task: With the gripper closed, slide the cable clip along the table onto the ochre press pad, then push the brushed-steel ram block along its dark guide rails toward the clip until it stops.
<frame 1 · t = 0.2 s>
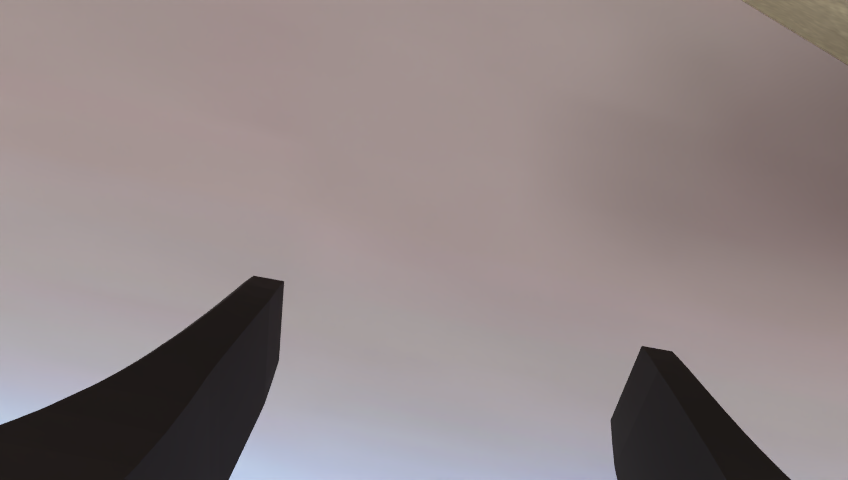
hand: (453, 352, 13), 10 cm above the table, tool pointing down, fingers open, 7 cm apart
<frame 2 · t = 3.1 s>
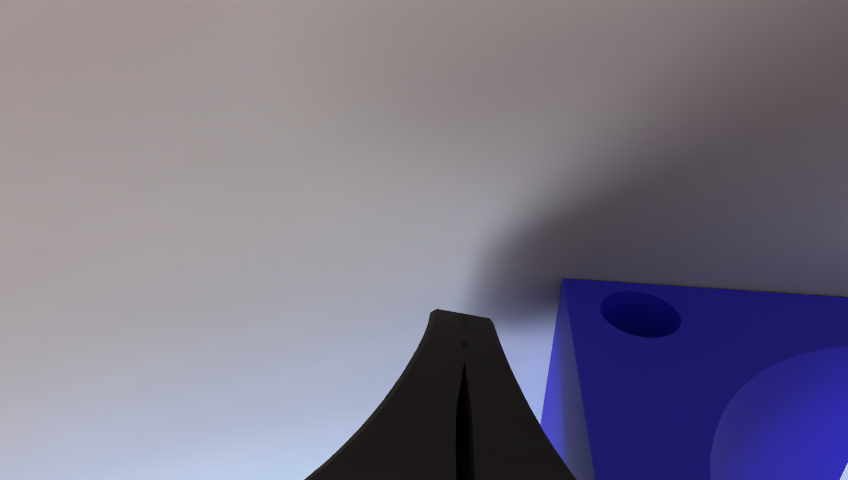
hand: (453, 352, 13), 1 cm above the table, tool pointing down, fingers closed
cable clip: (824, 377, 15), on the table, touching gripper
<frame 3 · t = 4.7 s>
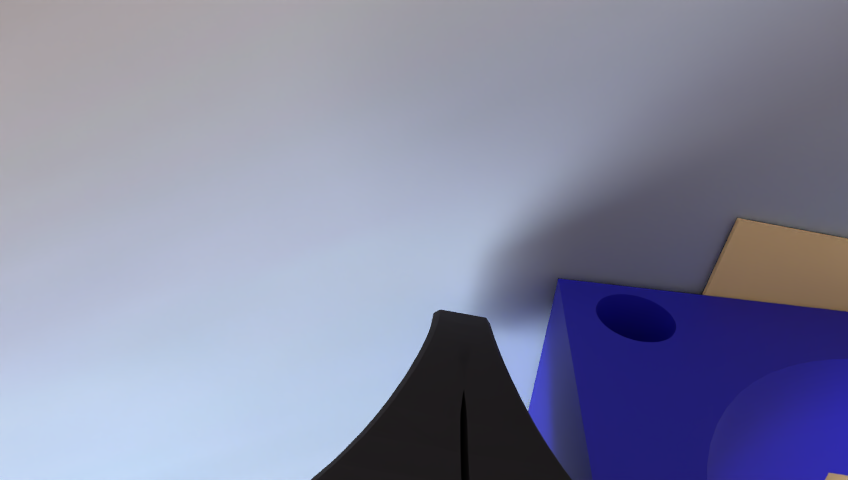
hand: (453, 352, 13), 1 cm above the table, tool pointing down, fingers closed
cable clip: (808, 388, 15), on the table, touching gripper, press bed
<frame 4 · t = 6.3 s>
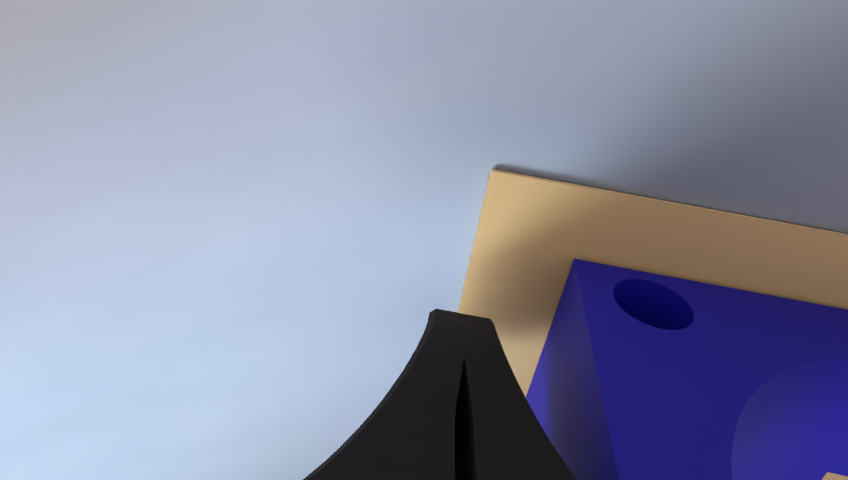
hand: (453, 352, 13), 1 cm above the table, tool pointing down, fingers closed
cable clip: (810, 386, 15), resting on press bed, touching gripper
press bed: (795, 375, 15), on the table
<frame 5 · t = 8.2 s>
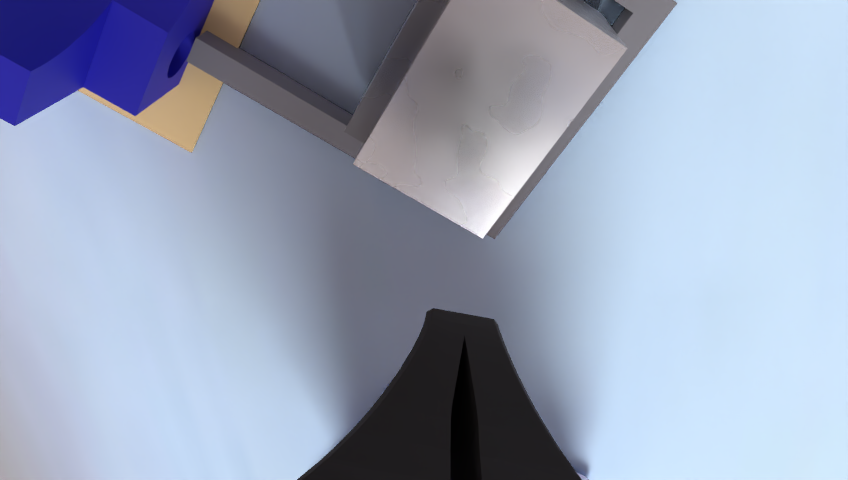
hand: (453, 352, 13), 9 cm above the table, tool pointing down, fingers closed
ram: (472, 79, 18), point 2 cm above the table, slide at 0.0 cm
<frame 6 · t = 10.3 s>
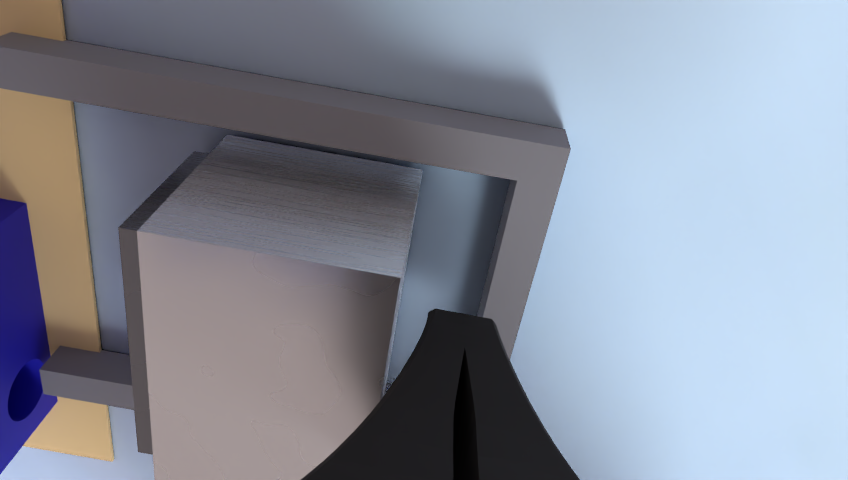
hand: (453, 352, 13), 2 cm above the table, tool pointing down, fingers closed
ram: (276, 326, 13), point 2 cm above the table, slide at 1.3 cm, touching gripper
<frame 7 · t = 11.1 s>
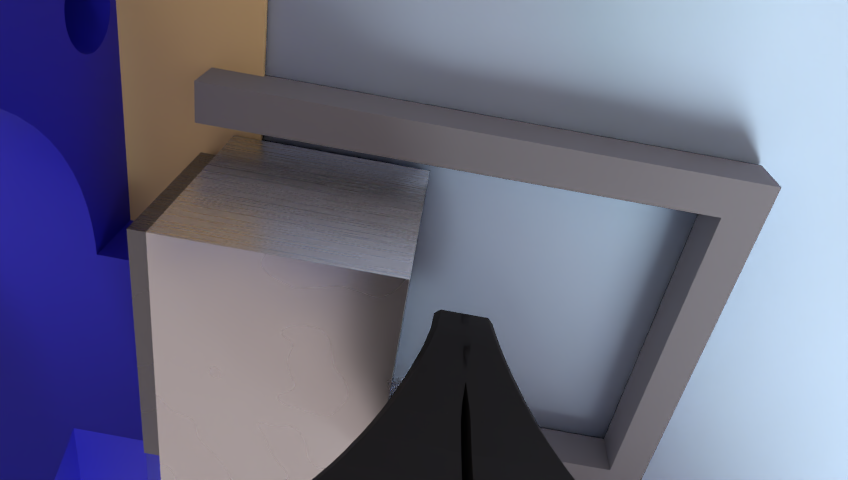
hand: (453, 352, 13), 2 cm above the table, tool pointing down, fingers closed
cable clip: (101, 209, 15), resting on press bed
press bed: (104, 233, 15), on the table
ram: (283, 328, 13), point 2 cm above the table, slide at 5.0 cm, touching gripper
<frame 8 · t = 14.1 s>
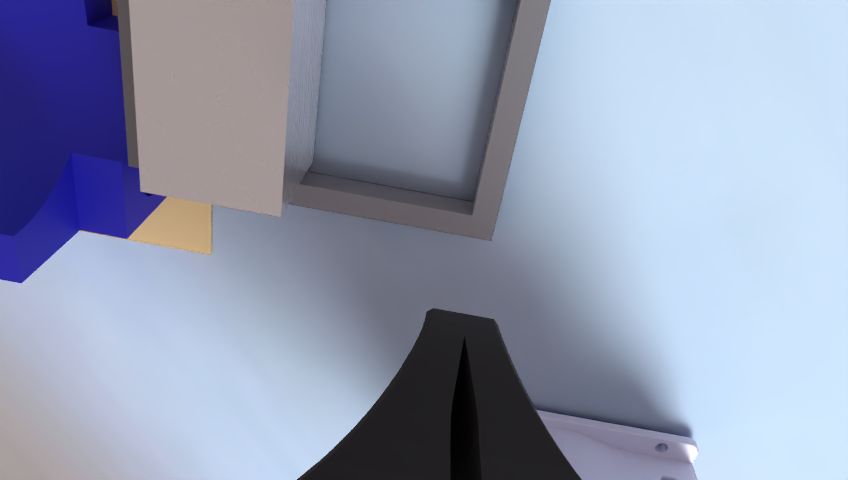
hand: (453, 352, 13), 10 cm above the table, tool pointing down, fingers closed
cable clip: (92, 9, 21), resting on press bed
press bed: (100, 31, 21), on the table
ram: (225, 78, 19), point 2 cm above the table, slide at 5.0 cm
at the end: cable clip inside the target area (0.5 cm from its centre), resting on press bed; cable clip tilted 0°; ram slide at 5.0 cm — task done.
